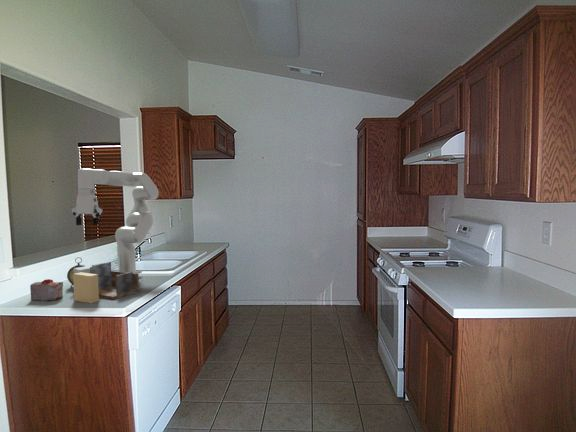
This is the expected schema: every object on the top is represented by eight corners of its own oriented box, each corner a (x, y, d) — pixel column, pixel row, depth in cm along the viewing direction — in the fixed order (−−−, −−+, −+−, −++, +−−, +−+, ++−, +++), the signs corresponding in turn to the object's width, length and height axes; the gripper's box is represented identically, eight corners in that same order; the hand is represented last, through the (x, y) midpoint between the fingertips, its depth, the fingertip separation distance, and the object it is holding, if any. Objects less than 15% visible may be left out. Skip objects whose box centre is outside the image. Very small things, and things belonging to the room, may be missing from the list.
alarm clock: (67, 288, 199) (66, 258, 198) (70, 285, 205) (68, 257, 203) (89, 286, 203) (88, 257, 201) (91, 284, 208) (90, 256, 207)
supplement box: (89, 288, 198) (88, 265, 198) (95, 290, 194) (94, 267, 193) (74, 291, 193) (73, 267, 192) (80, 294, 188) (79, 269, 187)
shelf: (109, 287, 201) (108, 261, 200) (138, 291, 192) (138, 264, 191) (82, 294, 187) (81, 266, 186) (113, 299, 178) (112, 270, 177)
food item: (66, 296, 183) (65, 277, 183) (56, 301, 176) (55, 281, 175) (39, 297, 183) (38, 277, 183) (28, 301, 175) (26, 281, 175)
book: (82, 298, 181) (80, 272, 180) (98, 300, 176) (97, 274, 175) (74, 300, 177) (73, 273, 176) (91, 303, 172) (90, 276, 172)
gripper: (106, 192, 192) (106, 225, 193) (77, 192, 195) (77, 224, 196) (96, 192, 185) (97, 226, 185) (66, 192, 188) (67, 225, 188)
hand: (87, 225), depth 191 cm, fingers open, 9 cm apart
